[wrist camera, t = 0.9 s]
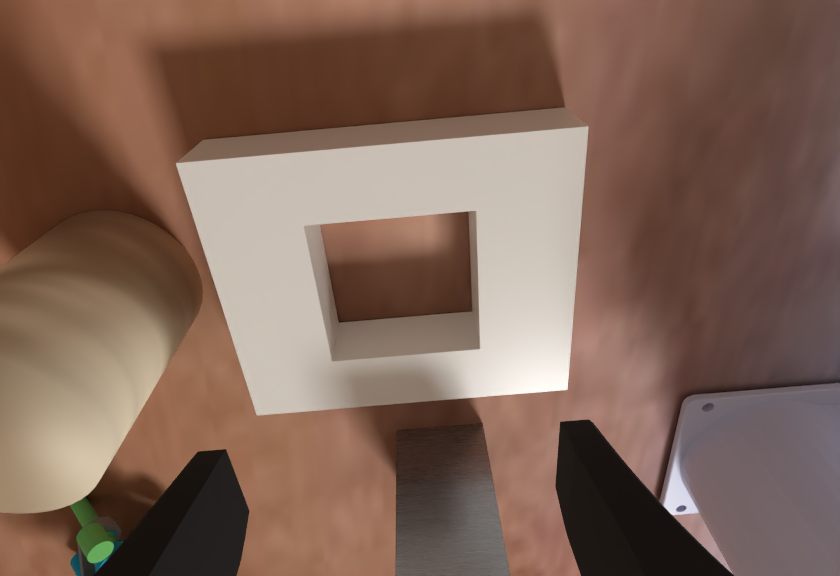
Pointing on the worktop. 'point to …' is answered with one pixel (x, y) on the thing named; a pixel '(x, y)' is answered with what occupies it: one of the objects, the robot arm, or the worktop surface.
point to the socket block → (391, 198)
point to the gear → (93, 539)
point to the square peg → (447, 504)
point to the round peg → (84, 349)
